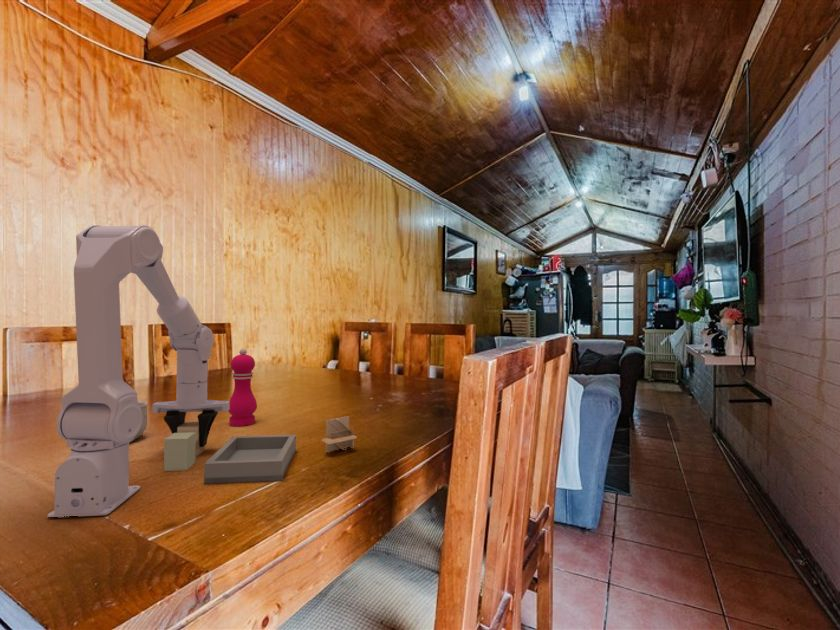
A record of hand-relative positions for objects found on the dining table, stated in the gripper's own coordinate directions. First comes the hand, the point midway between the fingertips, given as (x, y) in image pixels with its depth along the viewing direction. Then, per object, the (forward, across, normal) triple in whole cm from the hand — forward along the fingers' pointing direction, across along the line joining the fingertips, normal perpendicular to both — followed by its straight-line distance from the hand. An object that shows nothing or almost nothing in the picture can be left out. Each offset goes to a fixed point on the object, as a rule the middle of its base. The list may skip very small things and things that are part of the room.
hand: (191, 446), depth 87 cm
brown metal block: (+1, 0, 0) cm, 1 cm away
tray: (+1, -15, +9) cm, 18 cm away
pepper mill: (+2, -4, -23) cm, 23 cm away
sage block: (+2, -1, +8) cm, 8 cm away
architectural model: (+2, -31, +2) cm, 31 cm away
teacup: (+2, +19, -12) cm, 23 cm away
